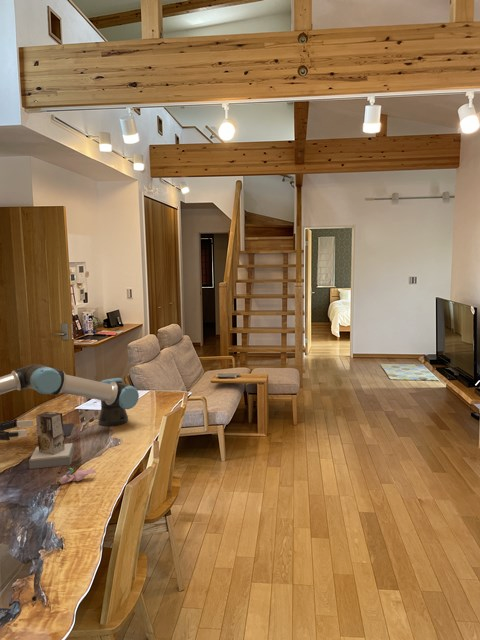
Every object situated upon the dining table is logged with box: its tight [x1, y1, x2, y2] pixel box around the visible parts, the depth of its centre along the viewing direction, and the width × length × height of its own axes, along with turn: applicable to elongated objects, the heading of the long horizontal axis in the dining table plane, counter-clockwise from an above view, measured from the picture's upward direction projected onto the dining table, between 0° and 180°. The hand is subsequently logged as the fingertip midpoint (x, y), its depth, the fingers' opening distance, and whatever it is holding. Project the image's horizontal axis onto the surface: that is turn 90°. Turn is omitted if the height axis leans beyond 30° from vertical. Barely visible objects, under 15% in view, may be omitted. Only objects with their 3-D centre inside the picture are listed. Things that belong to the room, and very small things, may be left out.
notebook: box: [63, 422, 75, 440], centre depth 255 cm, size 13×2×21 cm
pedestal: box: [28, 442, 75, 470], centre depth 218 cm, size 16×16×4 cm
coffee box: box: [35, 411, 65, 454], centre depth 217 cm, size 9×6×16 cm
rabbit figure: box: [55, 467, 97, 486], centre depth 196 cm, size 6×6×15 cm
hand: (30, 427), depth 215 cm, fingers open, 13 cm apart
